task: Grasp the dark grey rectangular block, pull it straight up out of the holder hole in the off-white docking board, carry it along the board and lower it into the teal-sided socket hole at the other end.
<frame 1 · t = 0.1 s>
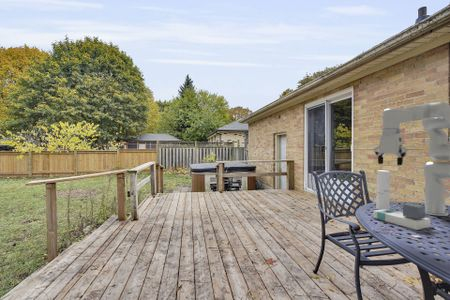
hand: (389, 164, 132), 31 cm above the table, tool pointing down, fingers open, 9 cm apart
docking board: (400, 221, 133), on the table
cylindrical container: (382, 209, 160), on the table
grey rectangular block: (413, 225, 127), resting in docking board
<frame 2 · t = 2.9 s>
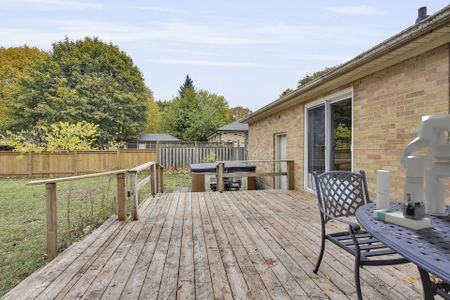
hand: (413, 214, 127), 6 cm above the table, tool pointing down, fingers closed on grey rectangular block, 6 cm apart
grey rectangular block: (413, 225, 127), resting in docking board, touching gripper
everything else where it was.
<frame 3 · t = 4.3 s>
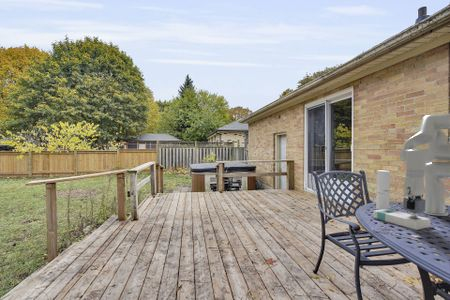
hand: (414, 208, 128), 9 cm above the table, tool pointing down, fingers closed on grey rectangular block, 6 cm apart
grey rectangular block: (414, 218, 128), point 3 cm above the table, touching gripper
everything else where it was.
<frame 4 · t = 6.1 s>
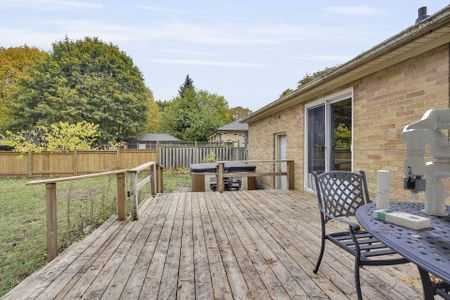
hand: (414, 188, 127), 19 cm above the table, tool pointing down, fingers closed on grey rectangular block, 6 cm apart
grey rectangular block: (414, 198, 127), point 14 cm above the table, touching gripper
everything else where it was.
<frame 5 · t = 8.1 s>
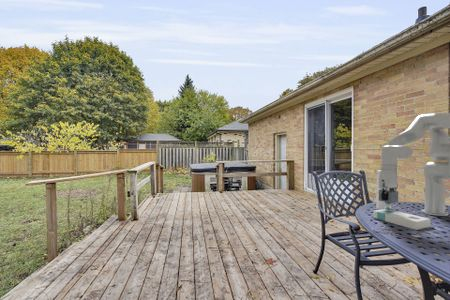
hand: (388, 199, 139), 11 cm above the table, tool pointing down, fingers closed on grey rectangular block, 6 cm apart
grey rectangular block: (388, 209, 139), point 5 cm above the table, touching gripper
everything else where it was.
when the fingers open (6 cm above the table, at t = 9.5 s): grey rectangular block stays where it is, resting in docking board.
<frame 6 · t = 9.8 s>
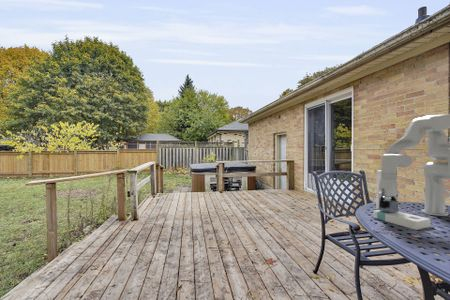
hand: (388, 207, 139), 7 cm above the table, tool pointing down, fingers open, 8 cm apart
grey rectangular block: (388, 218, 139), resting in docking board
everything else where it was.
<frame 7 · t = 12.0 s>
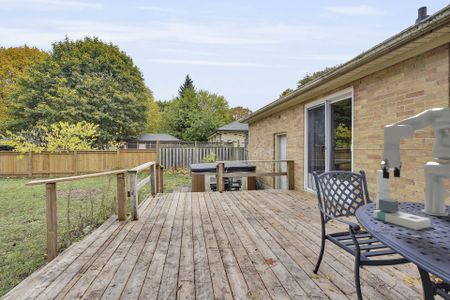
hand: (391, 177, 139), 23 cm above the table, tool pointing down, fingers open, 9 cm apart
nothing on the table moved.
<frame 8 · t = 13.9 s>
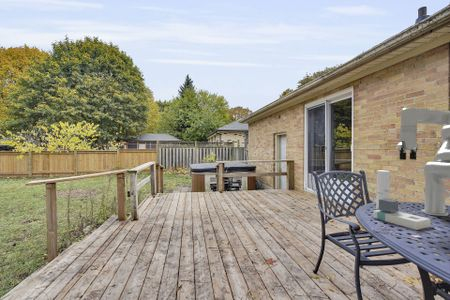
hand: (407, 159, 142), 33 cm above the table, tool pointing down, fingers open, 9 cm apart
nothing on the table moved.
at the end: grey rectangular block 0.1 cm from the target spot on the docking board, point 0.0 cm above the docking board's base; grey rectangular block tilted 0°; the gripper is holding nothing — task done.
